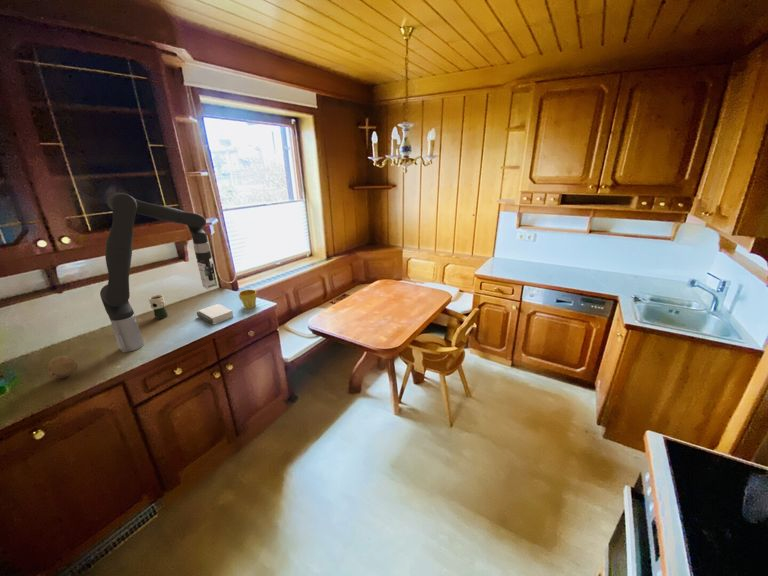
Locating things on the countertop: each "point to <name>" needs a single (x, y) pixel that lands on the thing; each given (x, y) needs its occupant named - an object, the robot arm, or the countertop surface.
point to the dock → (215, 314)
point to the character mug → (158, 306)
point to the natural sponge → (61, 367)
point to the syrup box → (206, 276)
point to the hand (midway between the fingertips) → (208, 279)
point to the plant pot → (248, 298)
